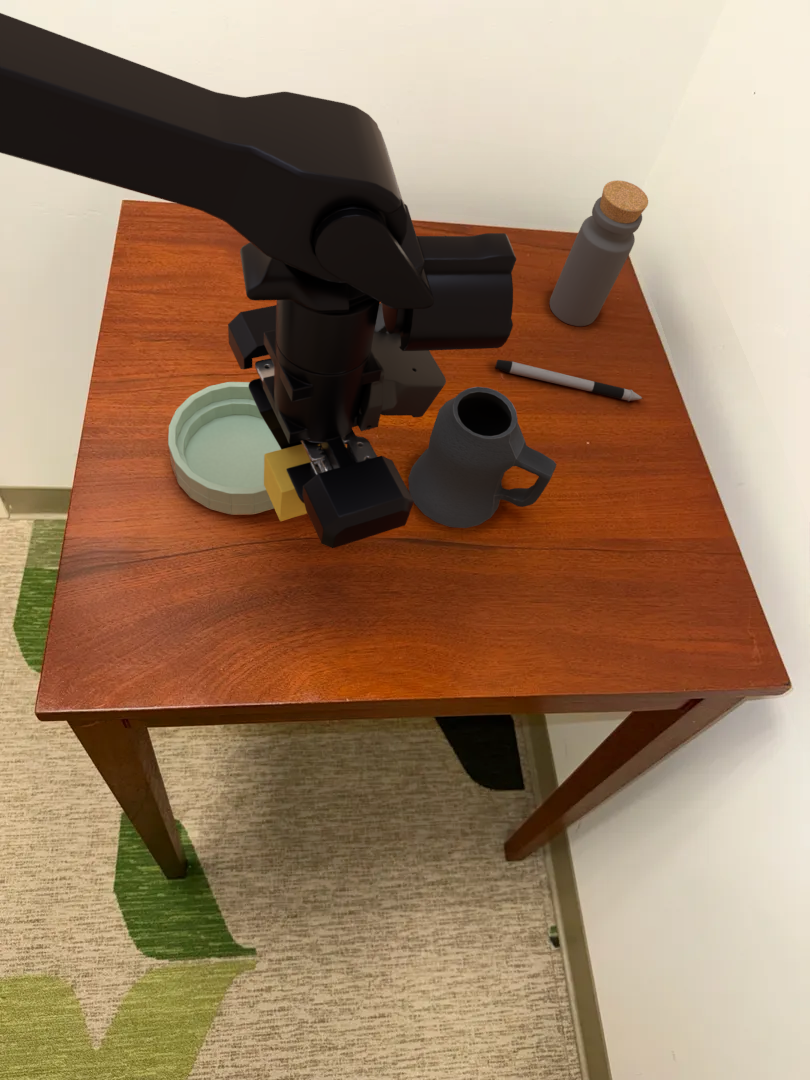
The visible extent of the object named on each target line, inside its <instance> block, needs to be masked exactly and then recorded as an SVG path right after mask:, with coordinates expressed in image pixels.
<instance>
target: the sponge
mask: <svg viewBox="0 0 810 1080" xmlns="http://www.w3.org/2000/svg"><path fill="white" fill-rule="evenodd" d="M318 446H320V445H318ZM345 446H346V448H347V444H345ZM309 462H311V461H310V459H309V457H308V455H307V453H306V451H305V449H304V447H303V444H300V445H296V446H293V447H289V448H285V449H281V450H277V451H274V452H270V453H266V454H264V486H265V488H266V490H267V493H268V495H269V497H270V500H271V502H272V504H273V506H274V509H273V510H274V511H275V513H276V515H277V518H278V520H279V522H283V521H287V520H289V519H290V520H291V519H293V518H296V517H300V516H304V515H308V514H307V512H306V508H305V504H304V503H303V502H302V501H301V500H300V499H299V497H298V495H297V492H296V490H295V488H294V486H293V484H292V482H291V479H290V477H289V475H288V473H287V471H286V469H287V468H290V467H294V466H298V465H301V464H305V463H309Z"/></svg>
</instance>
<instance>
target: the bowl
mask: <svg viewBox="0 0 810 1080" xmlns="http://www.w3.org/2000/svg"><path fill="white" fill-rule="evenodd" d="M250 382H251V381H250ZM250 382H249V381H226V382H221V383H217V384H212V385H208V386H206V387H205V388H202V389H200V390H199V391H197V392H195V393H193V394H191V395H190V396H188V397H187V398H186V399H185V400H184V401H183V402H182V403H181V404H180V405H179V406H178V407H177V408H176V410H175V412H174V413H173V415H172V418H171V420H170V423H169V424H168V435H167V446H168V452H169V453H168V454H169V458H170V464H171V469H172V471H173V474H174V477H175V480H176V482H177V484H178V486H179V487H180V488H181V489H182V490H183V491H184V492H185V493H186V495H188V497H189V498H190V499H192V500H193V501H195V502H196V503H199V504H200V505H202V506H203V507H205V508H207V509H210V510H212V511H216V512H219V513H224V514H227V515H232V516H234V515H237V516H238V515H239V516H240V515H257V514H260V513H264V512H267V511H270V510H275V509H274V506H273V504H272V502H271V500H270V497H269V495H268V493H267V490H266V488H265V486H264V454H266V453H270V452H274V451H277V450H281V448H280V446H279V444H278V443H277V441H276V439H275V438H274V436H273V434H272V432H271V431H270V429H269V428H268V426H267V424H266V423H265V421H264V419H263V417H262V416H261V414H260V412H259V410H258V408H257V406H256V403H255V401H254V399H253V397H252V395H251V392H250V390H249V383H250Z"/></svg>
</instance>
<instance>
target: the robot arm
mask: <svg viewBox="0 0 810 1080" xmlns="http://www.w3.org/2000/svg"><path fill="white" fill-rule="evenodd" d="M0 154H3V155H5V156H6V155H7V156H10V157H14V158H17V159H21V160H23V161H26V162H30V163H34V164H37V165H41V166H43V167H47V168H51V169H56V170H59V171H63V172H66V173H70V174H72V175H76V176H80V177H83V178H86V179H90V180H93V181H97V182H100V183H104V184H107V185H111V186H115V187H118V188H120V189H121V188H122V189H125V190H127V191H132V192H135V193H139V194H143V195H146V196H149V197H153V198H156V199H159V200H163V201H167V202H170V203H174V204H177V205H181V206H184V207H186V208H191V209H194V210H197V211H201V212H202V213H205V214H207V215H210V216H212V217H214V218H215V219H218V220H221V221H223V222H224V223H226V224H227V225H228V226H230V228H232V229H233V230H234V231H236V232H237V233H238V234H239V235H240V236H242V237H243V238H244V239H245V240H246V241H248V243H246V244H244V245H243V246H241V248H240V250H239V254H240V262H241V268H242V274H243V275H242V276H243V282H244V288H245V295H246V297H247V298H248V299H249V300H250V301H256V302H257V301H276V304H274V305H269V306H265V307H260V308H253V309H249V310H244V311H240V312H239V313H237V315H236V316H235V317H234V318H233V319H232V320H231V321H230V322H229V323H227V332H228V333H227V334H228V344H229V348H230V349H231V351H232V353H233V355H234V358H235V359H236V362H237V364H238V366H239V368H240V370H248V369H249V370H250V369H253V359H256V358H261V357H265V356H269V357H270V358H266V359H261V360H257V361H255V363H254V367H255V371H256V373H257V374H258V376H259V377H258V378H255V379H251V380H250V383H249V390H250V392H251V395H252V397H253V399H254V401H255V403H256V406H257V408H258V410H259V412H260V414H261V416H262V417H263V419H264V421H265V423H266V424H267V426H268V428H269V429H270V431H271V432H272V434H273V436H274V438H275V439H276V441H277V443H278V444H279V446H280V448H281V449H285V448H289V447H293V446H296V445H300V444H303V447H304V449H305V451H306V453H307V455H308V457H309V459H310V461H311V462H309V463H305V464H301V465H298V466H294V467H290V468H287V469H286V471H287V473H288V475H289V477H290V479H291V482H292V484H293V486H294V488H295V490H296V492H297V495H298V497H299V499H300V500H301V501H302V502H303V503H304V504H305V508H306V512H307V514H306V515H307V516H308V518H309V520H310V522H311V525H312V527H313V529H314V531H315V533H316V535H317V537H318V540H319V543H320V544H321V545H323V546H326V547H328V548H331V549H336V548H339V547H342V546H346V545H349V544H352V543H354V542H357V541H358V542H359V541H361V540H364V539H367V538H370V537H373V536H377V535H380V534H382V533H383V534H384V533H386V532H390V531H392V530H395V529H398V528H401V527H404V526H406V524H407V522H408V519H409V517H410V515H411V511H412V508H413V506H414V500H413V498H412V497H411V494H410V492H409V488H408V487H407V486H406V484H405V481H404V479H403V478H402V475H401V474H400V473H399V470H398V468H397V467H396V465H395V463H394V461H393V459H390V458H388V457H386V456H383V455H379V456H378V455H377V453H376V451H375V449H374V447H373V446H372V444H371V442H370V440H369V439H368V438H366V437H364V436H358V435H356V433H355V432H354V430H353V428H355V427H358V429H359V431H360V432H364V431H367V430H368V431H369V430H372V429H376V428H378V427H379V423H380V418H381V416H386V417H387V416H390V417H391V416H392V417H393V416H394V417H395V416H398V417H400V416H401V417H402V416H410V417H412V418H421V417H423V416H424V415H425V414H426V413H427V411H428V409H429V408H430V407H431V406H432V404H433V402H434V401H435V400H436V398H437V397H438V395H439V394H440V392H441V391H442V389H443V388H444V387H445V386H446V384H447V379H446V376H445V375H444V373H443V371H442V369H441V368H440V366H439V365H438V363H437V361H436V360H435V358H434V357H433V355H432V353H431V351H454V350H455V351H457V350H483V349H485V350H486V349H487V350H488V349H499V348H502V347H503V346H504V345H505V344H506V343H507V342H508V339H509V338H510V336H511V333H512V330H513V327H514V326H513V324H514V323H513V319H512V316H513V306H514V284H513V275H512V274H513V270H514V267H515V264H516V261H517V256H516V254H515V251H514V249H513V246H512V244H511V241H510V238H509V236H508V235H507V233H505V232H494V233H493V232H488V233H481V234H475V235H417V233H416V229H415V227H414V222H413V220H412V217H411V214H410V211H409V210H410V209H409V207H408V205H407V204H406V203H405V201H404V199H403V197H402V193H401V190H400V186H399V183H398V180H397V177H396V173H395V171H394V167H393V164H392V161H391V157H390V154H389V151H388V148H387V145H386V142H385V139H384V136H383V134H382V131H381V130H380V128H379V125H378V123H377V122H376V121H375V120H374V119H373V118H372V116H371V115H370V114H368V113H367V112H366V111H364V110H363V109H361V108H359V107H358V106H355V105H352V104H349V103H345V102H341V101H337V100H336V101H335V100H331V99H325V98H322V97H321V98H320V97H316V96H311V95H306V94H301V93H295V92H291V91H278V92H272V93H265V94H259V95H251V96H238V95H233V94H228V93H221V92H217V91H214V90H211V89H209V88H206V87H202V86H200V85H197V84H195V83H193V82H189V81H186V80H183V79H181V78H179V77H176V76H173V75H171V74H167V73H164V72H161V71H159V70H156V69H154V68H151V67H149V66H146V65H144V64H140V63H137V62H135V61H132V60H129V59H126V58H124V57H121V56H119V55H116V54H113V53H110V52H108V51H105V50H103V49H100V48H97V47H94V46H91V45H89V44H86V43H83V42H81V41H77V40H75V39H72V38H70V37H67V36H64V35H61V34H58V33H56V32H54V31H50V30H49V29H45V28H42V27H40V26H37V25H34V24H31V23H29V22H27V21H23V20H21V19H18V18H15V17H13V16H10V15H8V14H5V13H2V12H0ZM318 445H320V446H318ZM345 445H346V446H345ZM346 447H347V448H346Z"/></svg>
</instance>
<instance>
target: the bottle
mask: <svg viewBox="0 0 810 1080" xmlns="http://www.w3.org/2000/svg"><path fill="white" fill-rule="evenodd" d="M647 195H648V194H646V192H645V191H644V190H643V189H642V188H640V187H639V186H637V185H636V184H634V183H631V182H628V181H625V180H611V181H608V182H607V183H606V184H605V185H604V186H603V189H602V193H601V196H600V197H599V198H597V199H596V201H595V203H594V204H593V207H592V209H591V215H590V216H588V217H587V218H585V219H584V220H583V222H582V224H581V226H580V228H579V230H578V233H577V234H576V237H575V239H574V242H573V244H572V246H571V248H570V250H569V253H568V255H567V258H566V260H565V262H564V265H563V267H562V269H561V272H560V274H559V276H558V279H557V280H556V284H555V286H554V289H553V291H552V293H551V296H550V298H549V308H550V310H551V313H552V314H553V315H554V316H555V317H556V318H557V319H558V320H560V321H561V322H563V323H565V324H568V325H569V326H574V327H586V326H588V325H591V324H593V323H594V322H595V320H596V319H597V318H598V316H599V315H600V312H601V310H602V308H603V306H604V305H605V303H606V300H607V298H608V296H609V295H610V293H611V291H612V289H613V287H614V285H615V283H616V281H617V279H618V277H619V275H620V273H621V271H622V269H623V267H624V266H625V263H626V261H627V260H628V257H629V255H630V254H631V251H632V250H633V247H634V245H635V239H636V238H635V234H634V233H636V232H637V231H638V229H639V227H640V226H641V224H642V221H643V212H644V211H645V210H646V208H647V207H648V205H649V199H648V198H649V197H648V196H647Z"/></svg>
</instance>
